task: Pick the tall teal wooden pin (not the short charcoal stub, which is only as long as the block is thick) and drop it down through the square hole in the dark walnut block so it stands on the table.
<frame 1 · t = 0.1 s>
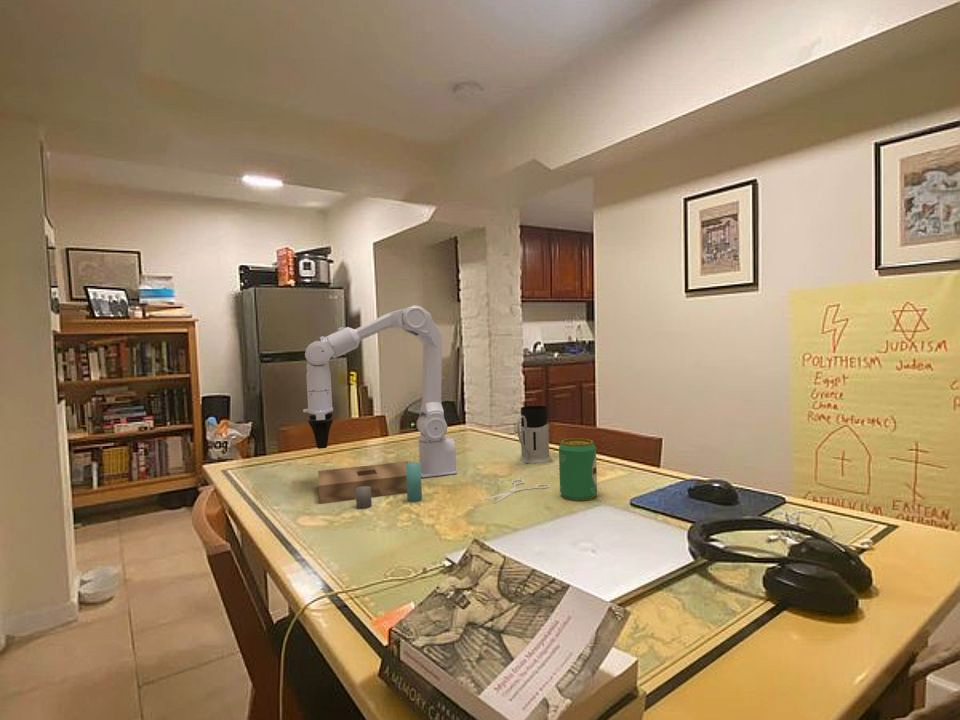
hand: (322, 445, 130), 10 cm above the table, tool pointing down, fingers open, 7 cm apart
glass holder: (531, 462, 148), on the table
scissors: (512, 494, 121), on the table
beverage can: (578, 496, 116), on the table
teal pin: (414, 499, 117), on the table
charcoal stub: (364, 506, 113), on the table
walnut hole block: (367, 489, 126), on the table
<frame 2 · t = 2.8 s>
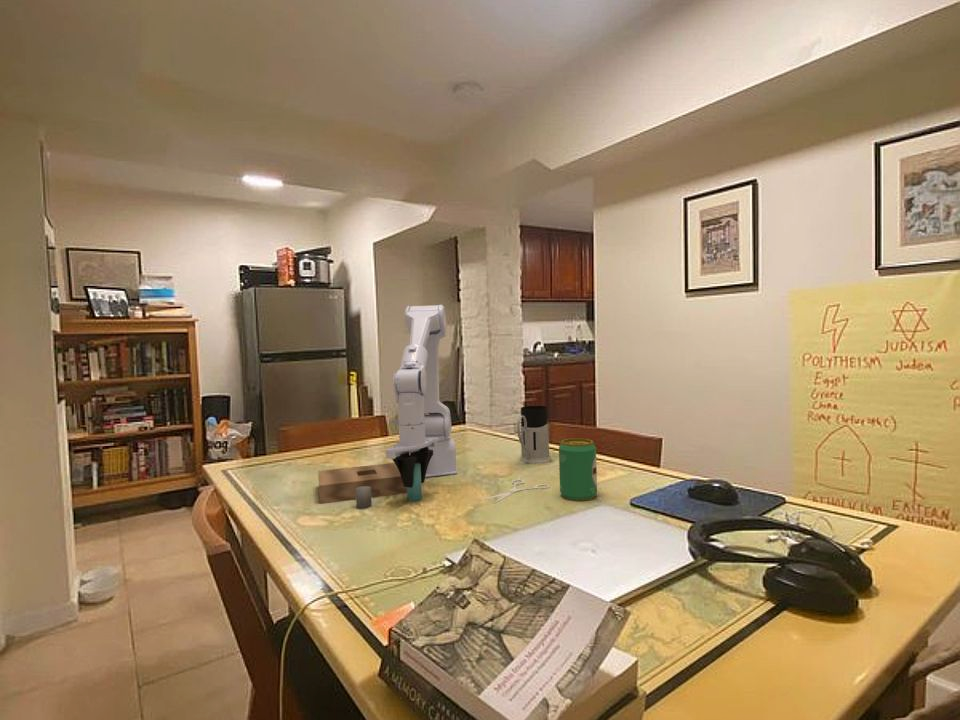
hand: (414, 484, 116), 3 cm above the table, tool pointing down, fingers closed on teal pin, 3 cm apart
teal pin: (414, 499, 117), on the table, touching gripper
everything else where it was.
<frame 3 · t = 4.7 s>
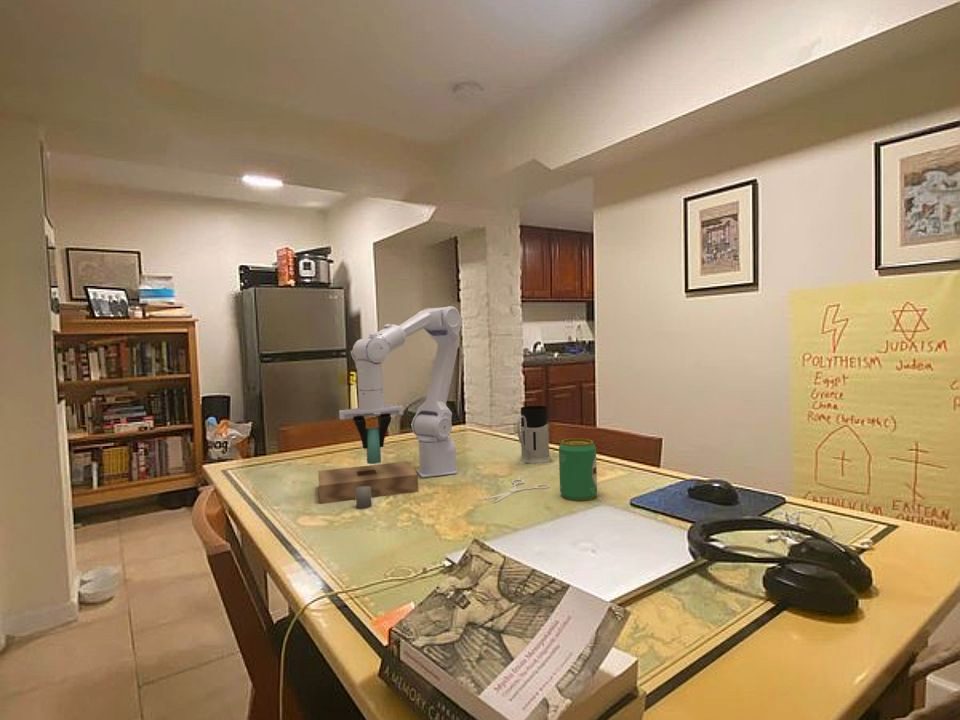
hand: (373, 447, 124), 10 cm above the table, tool pointing down, fingers closed on teal pin, 3 cm apart
teal pin: (374, 462, 124), point 7 cm above the table, touching gripper
everything else where it was.
when the fingers open (5 cm above the table, at t = 6.5 s): teal pin drops 2 cm, resting in walnut hole block.
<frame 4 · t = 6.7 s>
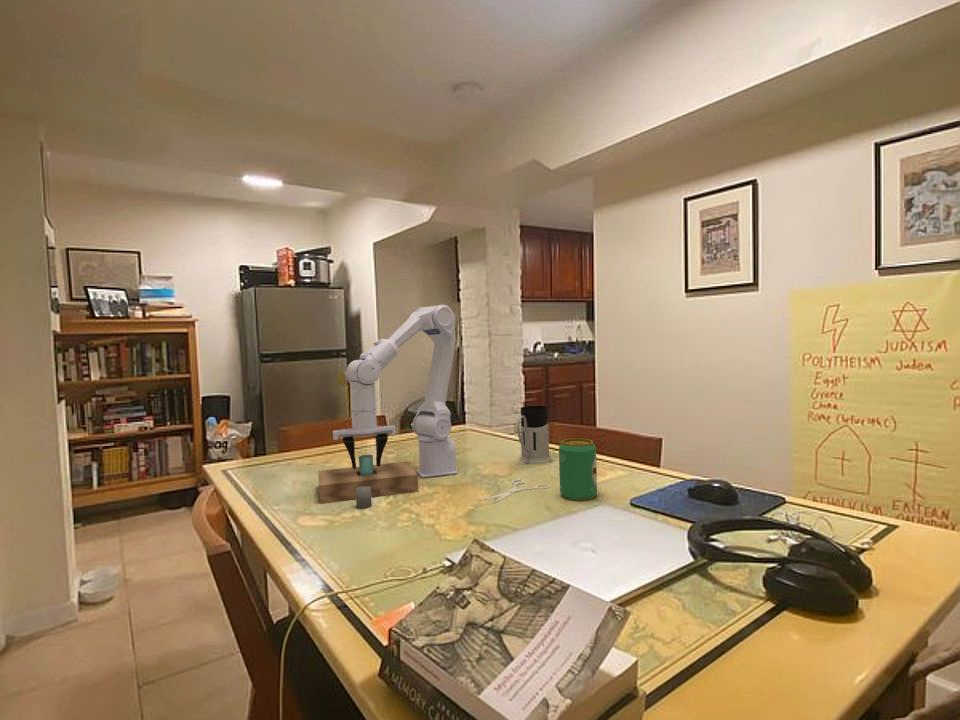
hand: (366, 466, 126), 5 cm above the table, tool pointing down, fingers open, 5 cm apart
teal pin: (367, 489, 126), resting in walnut hole block
everything else where it was.
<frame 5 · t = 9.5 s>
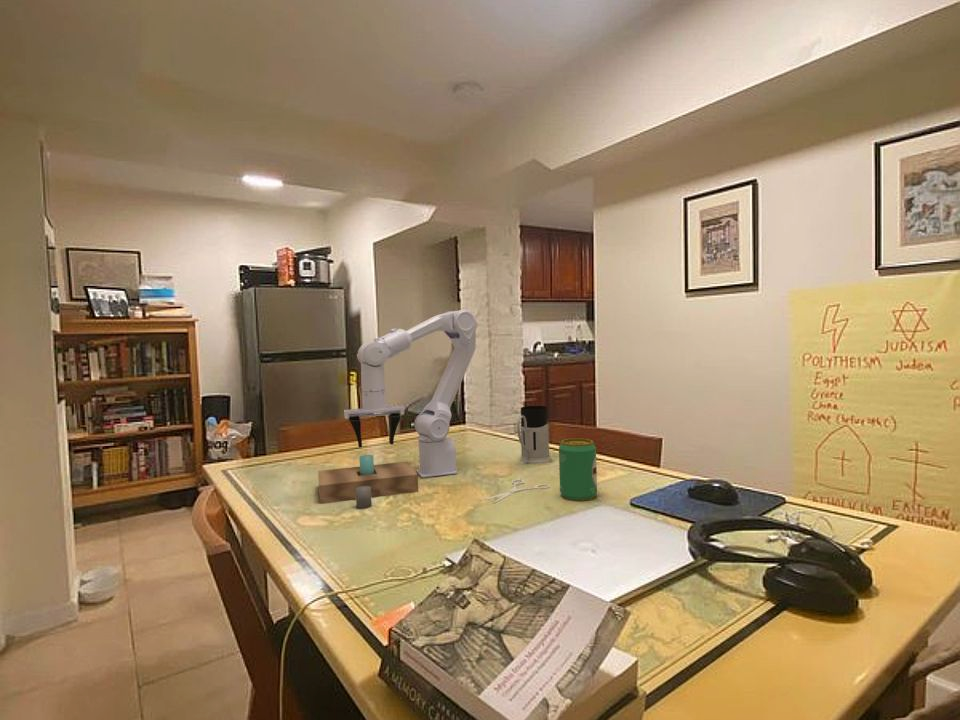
hand: (375, 445, 132), 9 cm above the table, tool pointing down, fingers open, 7 cm apart
nothing on the table moved.
at the end: teal pin 0.3 cm off-centre on the walnut hole block, point 0.0 cm above the walnut hole block's base; teal pin tilted 0°; charcoal stub moved 0.1 cm from its start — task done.
